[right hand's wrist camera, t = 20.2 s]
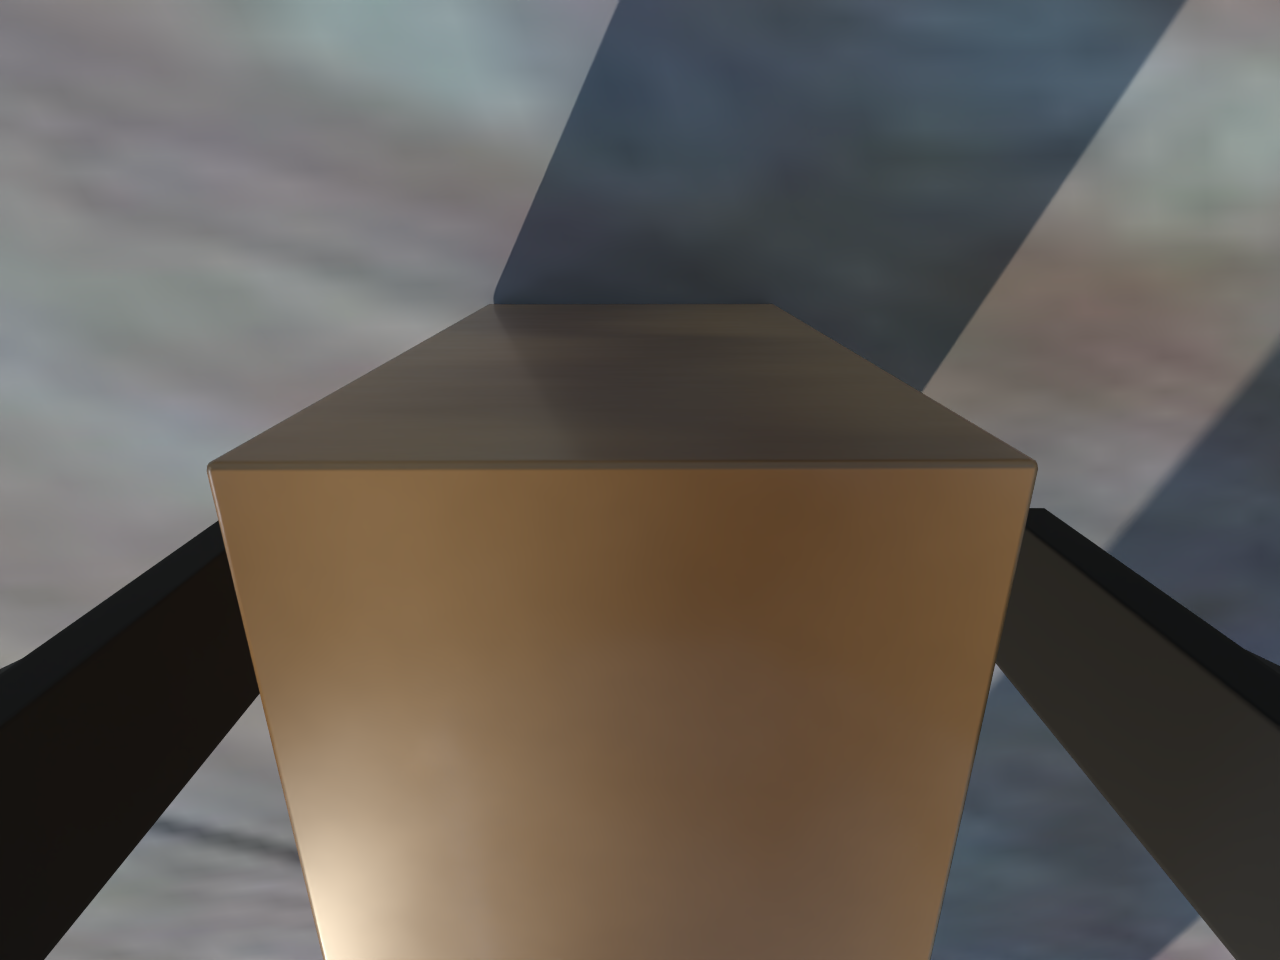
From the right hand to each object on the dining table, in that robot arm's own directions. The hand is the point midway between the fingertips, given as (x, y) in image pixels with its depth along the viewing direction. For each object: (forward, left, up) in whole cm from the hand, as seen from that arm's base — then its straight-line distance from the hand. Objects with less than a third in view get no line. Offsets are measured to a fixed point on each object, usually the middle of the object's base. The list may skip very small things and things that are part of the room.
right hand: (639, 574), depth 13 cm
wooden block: (0, 0, -4) cm, 4 cm away
